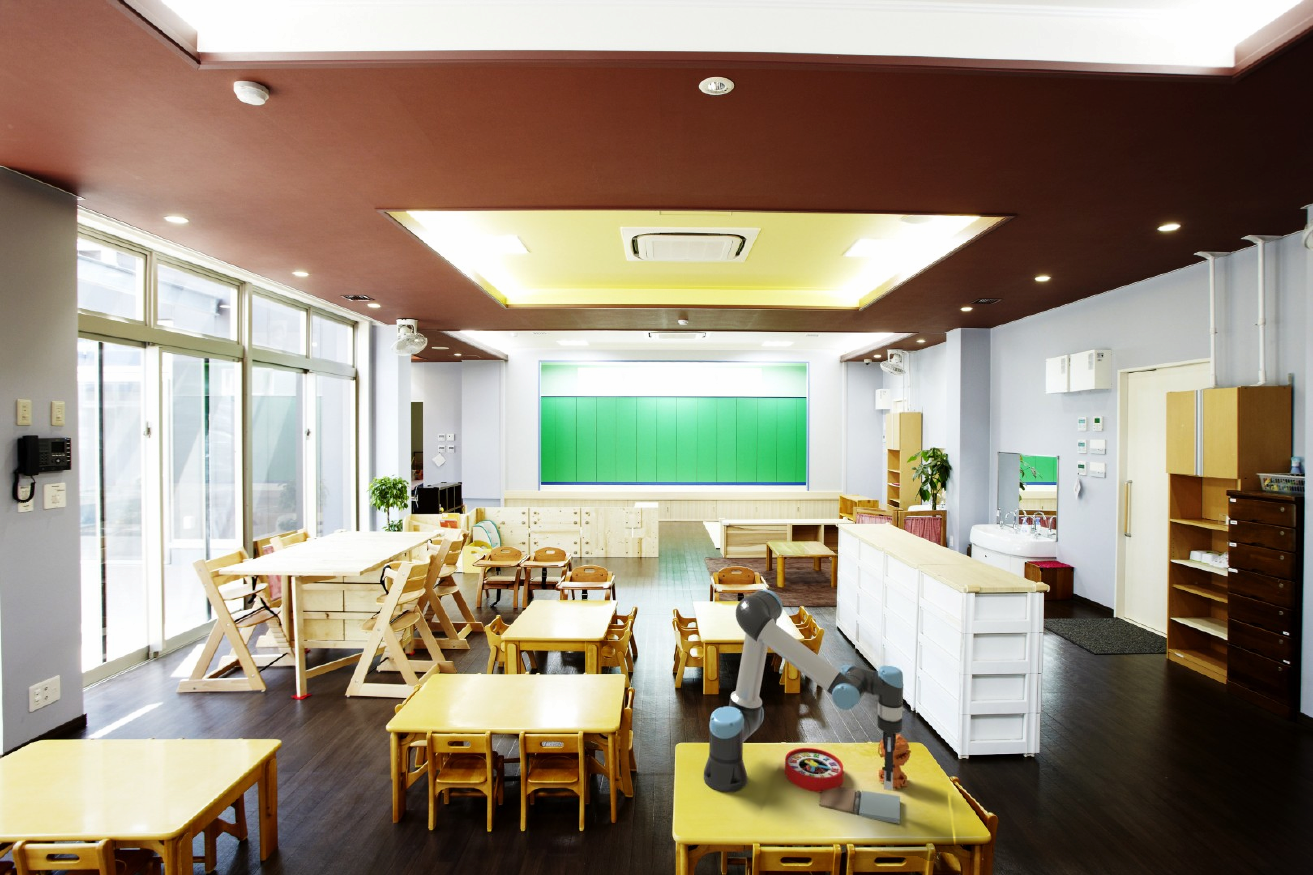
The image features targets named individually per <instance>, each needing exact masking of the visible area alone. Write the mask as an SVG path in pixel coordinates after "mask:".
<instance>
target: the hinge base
mask: <svg viewBox="0 0 1313 875" xmlns="http://www.w3.org/2000/svg"><path fill="white" fill-rule="evenodd" d="M861 792H862V791H861V790H858V789H857V790H856V789H853V788H849V787H845V786H842V785H841V786H838V787H835V788H832V789H827V790H822V792H820V793H821V794H820V799H819V802H818V805H819V807H822V808H823V807H824V808H826V809H827V808H828V809H830V810H836V811H840V812H843V813H847V814H852V815H856V816H860V815H859V811H860V805H859V806H858V805H855V799H856V798H859V799H860V800H861Z"/></svg>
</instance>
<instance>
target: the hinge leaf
mask: <svg viewBox="0 0 1313 875" xmlns="http://www.w3.org/2000/svg"><path fill="white" fill-rule="evenodd" d="M860 792H861V796H860V799H859V798H856V797H855V799H854V806H855V805H858V806H859V815H858V816H860V817H865V818H867V819H868V818H869V819H873V820H877V821H881V822H887V823H894V824H899V825H900V824H901V799H900V798H901V796H900V795H895V794H894V795H893V794H889V793H887V794H886V793H882V792H881V793H880V792H873V791H865V790H861V791H860Z"/></svg>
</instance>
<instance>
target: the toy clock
mask: <svg viewBox="0 0 1313 875" xmlns="http://www.w3.org/2000/svg"><path fill="white" fill-rule="evenodd" d="M802 764H807V765H805V766H803V767H801V766H800V765H802ZM806 770H807V771H806ZM826 770H827V771H826ZM784 774H785V777H786V778H787V779H788V781H790V782H791V783H792V784H794V785H795V786H797V787H799V788H802V789H804V790H807V791H810V792H818V793H822V790H827V789H832V788H835V787H838V786H841V787H842V785H843V782H844V765H843V762H842V761H841V760H840V759H839V758H838V757H837V756H836V755H835V754H832V753H830V752H827V751H826V750H822V749H818V748H813V747H801V748H795V749H791V750H790V751H789V752H787V754H785V760H784Z"/></svg>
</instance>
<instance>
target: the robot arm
mask: <svg viewBox="0 0 1313 875" xmlns="http://www.w3.org/2000/svg"><path fill="white" fill-rule="evenodd" d="M783 608H784V607H783V603H782V600H781V599H780V597H779V596H778V594H777V593H775V592H774V591H772V590H769V589H761V590H757V591H755V592H754V593H752V594H750V595H748V596H745V597H744V598H742V599H741V600H740V601H739V602H738V604H737V606H736V609H735V617H736V618H735V619H736V622H737V625H739V627H740V629H741V630H742V631H743V632H744V633H745V635H744V641H743V647H742V653H741V658H740V663H739V664H740V665H739V670H738V677H737V680H736V688H735V691H732V692H731V694H730V698H729V704H728V706H726V705H725V706H723V707H721V706H720V707H718V708H716V709H715V710H714V711H712V713H711V715H710V719H709V720H710V721H709V742H708V744H709V747H708V748H709V749H708V750H709V754H708V758H707V761H706V764H705V767H704V769H703V780H704V783H705V784H706V785H707V786H708V787H710V788H711V789H713V790H717V791H719V792H724V793H725V792H727V793H730V792H731V793H733V792H737V791H741V790H742V789H744V788H745V787H746V786H747V784H748V774H747V770H746V767H745V763H744V758H743V753H744V752H743V750H744V742H745V741H746V740H748V738H750V737H751V735H753V734H754V733H755V732H756V731H758V729H759V728H760V726H761V725H762V724H763V721H764V716H765V715H764V714H765V713H764V712H765V711H764V708H763V706H762V705H763V700H762V698H761V697H760V692H761V687H762V681H763V675H764V670H765V664H766V659H767V652H768V648H769V649H770V650H772V651H773V653H774V652H775V653H776V654H777V655H778V656H779V657H781V659H783V660H785V661H786V662H787V663H789V664H790V665H791V666H793V667H794V668H796V669H797V670H798V671H799V672H801V673H802V674H803V675H804V676H806V677H807V678H808V679H810V680H812V681H813V682H814V683H815V684H816V685H818V686H819V687H821V688H822V689H823V690H825V691H826V692H827V693H828V694H830V696H831V698H832V701H833V703H834V704H835V706H836V707H837V708H839V709H840V710H845V711H848V710H851V709H853V708H854V707H855V706H856V705H858V704H859V703H860V700H861V699H862V697H863V696H864V695H865V694H868V695H872V696H877V719H876V720H877V722H876V723H877V728H878V729H880V730H881V731H882V739H883V741H884V747H883V748H884V749H885V760H884V766H885V767H884V766H882V768H881V770H884V782H883V790H887V791H891V792H893V791H894V788H893V768H895V765H893V751H895V743H896V735H897V734H900V733H901V732H902V730H903V719H902V718H903V712H905V708H904V707H903V705H904V704H903V702H904V674H903V671H902V670H901V669H899V667H896V666H893V665H882V666H880V667H879V668H878V670H872V669H867V668H863V667H860V666H859V667H858V666H856V665H849V664H844V665H842V666H841V668H840V670H838V669H837V668H836V667H834V666H833V665H831V664H830V663H829V662H827V661H826V660H825V659H824V658H822V657H821V656H819V655H818V654H817V653H815V652H814V651H813V650H812V649H810V648H809V647H807V646H806V645H805V644H803V643H802V642H801V641H799V639H798V640H797V639H796V638H795V637H794V636H792V635H791V634H790V633H788V632H787V631H786V630H784V629H783V628H782V627H780V626H779V625H778V624H777V621H778V619H779V618H780V617H781V615H782V613H783Z"/></svg>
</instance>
